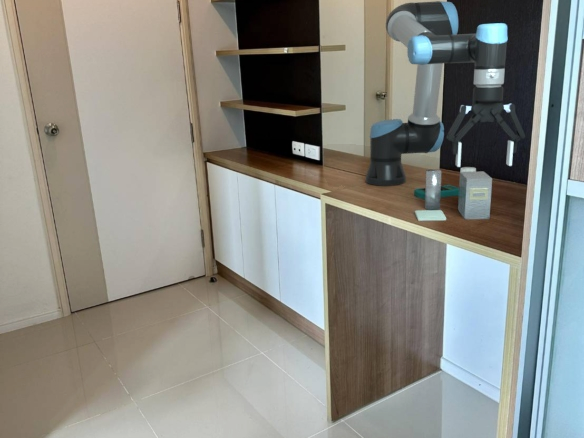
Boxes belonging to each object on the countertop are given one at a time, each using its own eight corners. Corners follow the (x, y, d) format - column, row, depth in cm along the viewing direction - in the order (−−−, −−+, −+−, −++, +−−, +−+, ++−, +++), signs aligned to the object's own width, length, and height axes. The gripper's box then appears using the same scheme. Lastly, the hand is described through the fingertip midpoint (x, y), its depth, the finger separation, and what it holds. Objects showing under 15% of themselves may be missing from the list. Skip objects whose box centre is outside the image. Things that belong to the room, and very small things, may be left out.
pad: (414, 213, 165) (414, 210, 165) (441, 212, 165) (441, 210, 164) (418, 220, 158) (418, 217, 158) (446, 220, 157) (446, 217, 157)
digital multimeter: (412, 196, 187) (412, 188, 186) (449, 191, 191) (449, 183, 190) (423, 201, 180) (423, 192, 179) (461, 196, 184) (462, 188, 183)
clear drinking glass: (423, 206, 172) (425, 169, 169) (438, 206, 171) (440, 169, 168) (425, 210, 168) (427, 172, 164) (441, 210, 167) (442, 172, 164)
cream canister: (457, 203, 174) (459, 167, 170) (472, 203, 173) (474, 166, 170) (460, 207, 169) (462, 170, 166) (475, 207, 169) (477, 169, 165)
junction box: (458, 209, 167) (459, 171, 163) (481, 209, 166) (483, 171, 163) (465, 219, 157) (467, 179, 153) (490, 219, 156) (492, 179, 152)
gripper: (442, 88, 139) (439, 169, 145) (542, 84, 137) (535, 167, 143) (437, 86, 146) (434, 163, 152) (532, 83, 144) (526, 161, 150)
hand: (483, 165), depth 148 cm, fingers open, 13 cm apart
